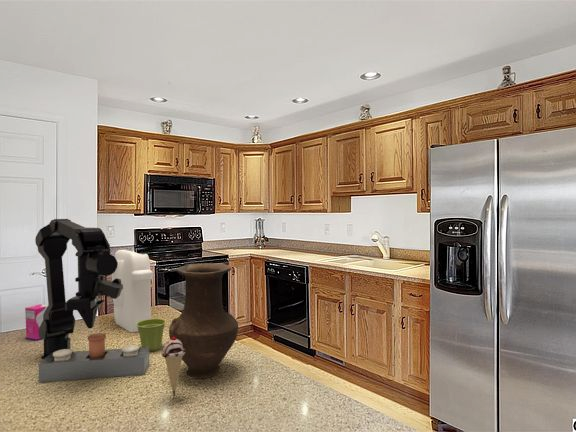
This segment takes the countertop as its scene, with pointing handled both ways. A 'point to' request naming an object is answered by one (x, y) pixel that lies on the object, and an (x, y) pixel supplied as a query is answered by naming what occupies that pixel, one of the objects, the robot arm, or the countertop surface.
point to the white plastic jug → (132, 289)
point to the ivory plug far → (130, 350)
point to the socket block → (94, 365)
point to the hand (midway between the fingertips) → (90, 327)
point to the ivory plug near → (62, 354)
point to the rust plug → (97, 345)
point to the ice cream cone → (173, 359)
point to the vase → (204, 320)
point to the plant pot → (151, 333)
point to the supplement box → (34, 321)
